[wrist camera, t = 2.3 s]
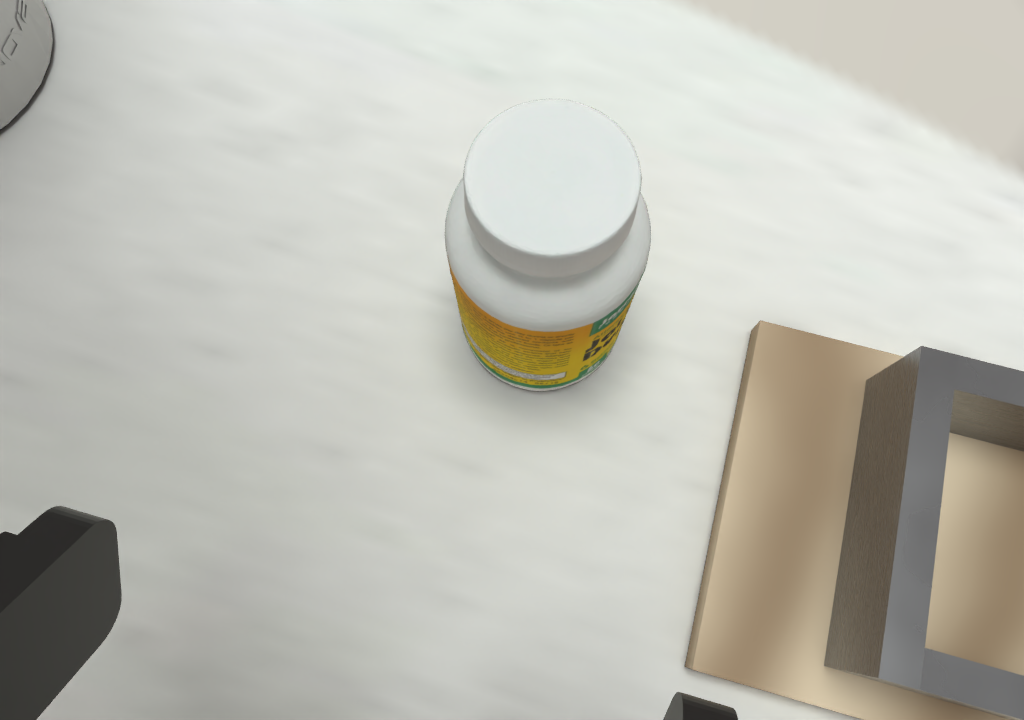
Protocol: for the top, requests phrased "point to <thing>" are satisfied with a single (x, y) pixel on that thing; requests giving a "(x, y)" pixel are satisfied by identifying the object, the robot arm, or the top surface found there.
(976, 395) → the metal sleeve
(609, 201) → the supplement bottle
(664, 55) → the top surface
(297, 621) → the top surface
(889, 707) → the birch board
